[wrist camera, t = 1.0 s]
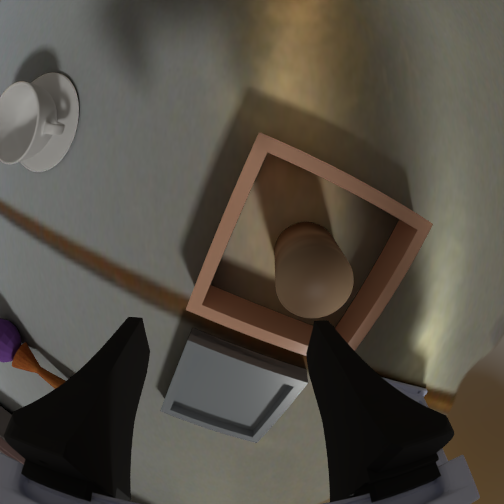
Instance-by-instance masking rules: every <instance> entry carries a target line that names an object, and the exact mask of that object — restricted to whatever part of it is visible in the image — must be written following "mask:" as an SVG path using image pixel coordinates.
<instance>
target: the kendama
mask: <svg viewBox="0 0 504 504" xmlns="http://www.w3.org/2000/svg"><path fill="white" fill-rule="evenodd" d="M12 360H13V362H12V366H13V367H15V368H19V369H22V370H26V371H30V372H35V373H38V374H39V375H40V376H41V377H42V378H43V379H44V380H45V381H47V382H48V383H49V384H50V385H51V386H52V387H54V388H55V389H56V388H57V387H59V386H60V385H61V384H63V383H64V382H66V381H65V380H63V379H61V378H59V377H58V376H56V375H54V374H52V373H50V372H49V371H47V370H45V369H44V368H42V367H40V365H39V363H38V362H37V360H36V358H35V357H34V355H33V353H32V352H31V350H30V348H29V347H28V345H27V343H26V342H25V343H23V344H22V345H21V338H20V334H19V332H18V330H17V328H16V327H15V325H13V324H12V323H11V322H10V321H8V320H5V319H1V318H0V361H1V362H9V361H12Z"/></svg>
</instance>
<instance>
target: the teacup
mask: <svg viewBox="0 0 504 504" xmlns="http://www.w3.org/2000/svg"><path fill="white" fill-rule="evenodd" d="M78 118H79V102H78V96H77V93H76V90H75V87H74V85H73V84H72V82H71V81H70V80H69V79H68V78H67V77H66V76H65V75H63V74H60V73H55V72H51V73H46V74H43V75H41V76H39V77H38V78H36V79H35V80H34V81H32V82H31V83H29V82H26V81H19V82H16V83H14V84H12V85H10V86H9V87H8V88H7V89H6V90H5V91H4V92H3V94H2V95H1V96H0V161H1V162H3V163H5V164H14V163H17V162H20V163H21V164H22V165H23V166H24V167H26V168H27V169H29V170H31V171H34V172H43V171H47V170H49V169H51V168H53V167H54V166H55V165H57V164H58V163H59V162H60V161H61V160H62V158H63V157H64V156H65V154H66V153H67V151H68V150H69V148H70V146H71V144H72V141H73V139H74V136H75V133H76V129H77V125H78Z"/></svg>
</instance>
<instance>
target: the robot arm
mask: <svg viewBox="0 0 504 504" xmlns="http://www.w3.org/2000/svg"><path fill="white" fill-rule="evenodd" d="M149 354H150V349H149V345H148V341H147V337H146V333H145V328H144V324H143V319H142V318H137V317H128V318H127V319H126V320H125V322H124V323H123V324H122V325H121V326H120V327H119V329H118V330H117V331H116V332H115V333H114V334H113V336H112V337H111V338H110V339H109V340H108V341H107V342H106V344H105V345H104V346H103V347H102V348H101V349H100V350H99V351H98V352H97V353H96V354H95V355H94V356H93V357H92V358H91V359H90V360H89V361H88V362H87V364H85V365H84V366H83V367H82V368H81V369H80V370H79V371H78V372H77V373H76V374H74V375H73V376H72V377H71V378H70V379H68V380H67V381H66V382H64V383H63V384H61V385H60V386H59V387H57V388H56V389H55V390H53V391H52V392H50V393H48V394H47V395H45V396H44V397H42V398H40V399H38V400H37V401H35V402H33V403H31V404H29V405H27V406H25V407H23V408H20V409H18V410H16V411H14V412H13V414H12V416H11V418H10V421H9V423H8V426H7V428H6V431H5V433H4V439H5V440H6V442H7V443H8V444H9V445H10V446H11V447H12V448H13V449H14V450H15V451H16V452H18V453H19V454H20V455H21V456H22V457H23V458H25V462H24V464H22V463H20V462H19V461H17V460H15V459H13V458H11V457H9V456H7V455H5V454H3V453H1V452H0V504H141V503H136V502H131V501H129V500H130V499H131V493H130V466H131V448H132V437H133V428H134V421H135V416H136V411H137V407H138V404H139V400H140V396H141V392H142V389H143V385H144V381H145V377H146V374H147V368H148V362H149ZM306 356H307V363H308V370H309V375H310V379H311V382H312V386H313V389H314V393H315V396H316V400H317V403H318V407H319V410H320V414H321V418H322V422H323V428H324V434H325V441H326V449H327V457H328V468H329V483H330V502H329V503H323V504H471V503H472V502H474V501H476V500H477V499H479V497H480V496H479V493H478V490H477V488H476V485H475V482H474V480H473V477H472V475H471V472H470V470H469V467H468V465H467V462H466V460H465V458H464V456H463V455H461V456H459V457H457V458H455V459H452V460H450V461H448V460H447V458H446V456H445V453H444V451H443V449H442V448H443V447H444V446H445V445H446V444H447V443H448V442H449V441H450V440H451V439H452V437H453V436H454V431H453V429H452V426H451V424H450V422H449V420H448V418H447V416H446V415H444V414H441V413H439V412H437V411H434V410H432V409H430V408H428V406H427V404H426V401H425V399H424V396H425V395H426V394H427V389H425V388H421V387H417V386H413V385H409V384H405V383H401V382H398V381H394V380H390V379H387V378H383V377H381V376H380V375H378V374H377V373H376V372H375V371H374V370H373V369H372V368H371V367H370V366H369V365H368V364H367V363H365V362H364V361H363V360H362V359H361V357H360V356H359V355H358V354H357V353H356V352H355V351H354V350H353V349H352V348H351V347H350V345H349V344H348V343H347V342H346V341H345V340H344V339H343V337H342V336H341V335H340V334H339V333H338V332H337V330H336V329H335V328H334V327H333V326H332V324H331V323H330V322H329V321H314V325H313V329H312V333H311V337H310V341H309V345H308V349H307V353H306Z"/></svg>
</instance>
